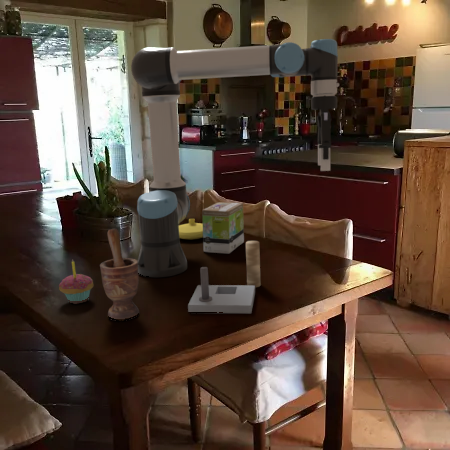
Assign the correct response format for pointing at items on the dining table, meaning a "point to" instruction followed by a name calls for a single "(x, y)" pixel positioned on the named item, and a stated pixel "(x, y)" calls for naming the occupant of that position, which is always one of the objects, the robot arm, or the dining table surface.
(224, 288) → the board
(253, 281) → the dowel
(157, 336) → the dining table surface
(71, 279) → the cupcake
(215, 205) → the tea box
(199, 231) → the yellow pot lid
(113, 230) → the mortar and pestle
